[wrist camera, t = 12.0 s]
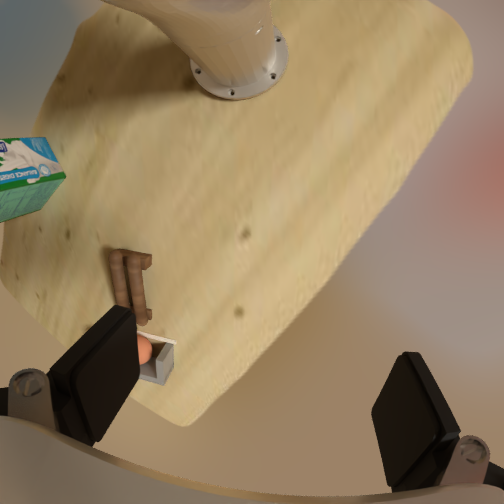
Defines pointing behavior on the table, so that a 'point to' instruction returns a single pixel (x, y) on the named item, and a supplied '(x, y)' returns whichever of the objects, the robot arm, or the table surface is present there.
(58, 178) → the milk carton
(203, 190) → the table surface
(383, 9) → the table surface
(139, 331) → the line
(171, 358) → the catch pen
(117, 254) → the brown piece
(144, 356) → the ball
